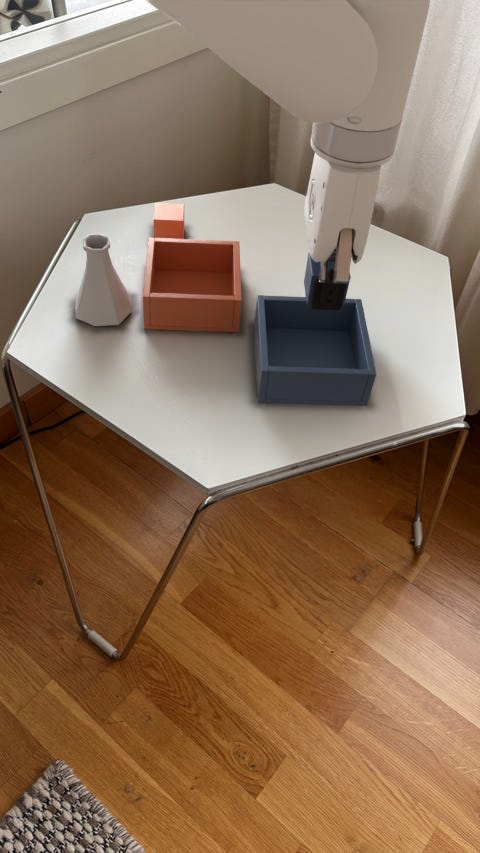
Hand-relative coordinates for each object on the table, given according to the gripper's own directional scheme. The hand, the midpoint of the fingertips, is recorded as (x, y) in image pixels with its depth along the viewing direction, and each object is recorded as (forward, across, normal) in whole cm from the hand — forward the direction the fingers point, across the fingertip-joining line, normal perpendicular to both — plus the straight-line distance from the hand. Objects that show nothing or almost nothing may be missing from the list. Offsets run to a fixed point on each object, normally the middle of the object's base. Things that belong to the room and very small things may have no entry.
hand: (323, 291), depth 76 cm
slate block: (0, 0, 0) cm, 0 cm away
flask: (+11, -9, -25) cm, 29 cm away
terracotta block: (+11, -24, -18) cm, 32 cm away
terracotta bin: (+11, -11, -14) cm, 21 cm away
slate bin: (+11, 0, 0) cm, 11 cm away
